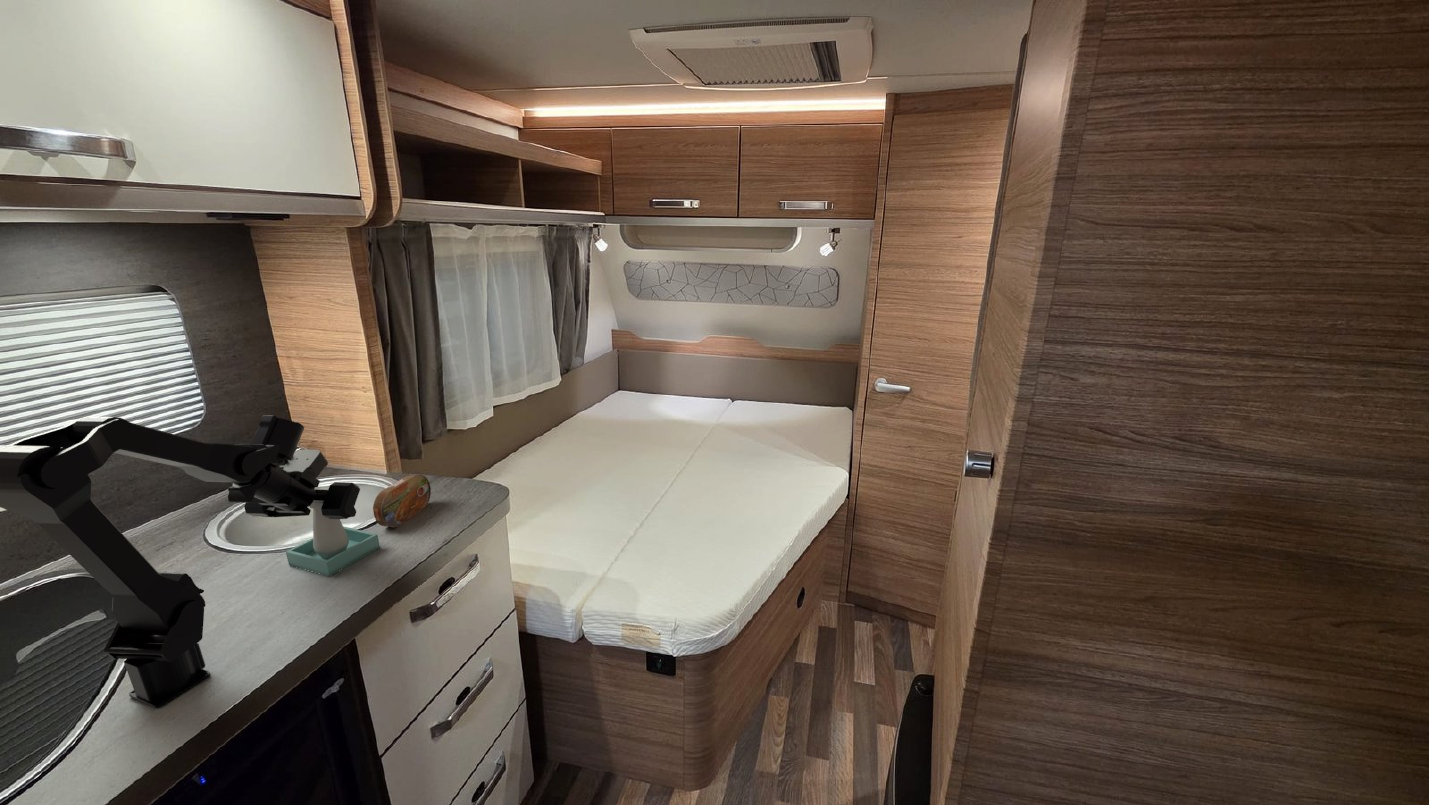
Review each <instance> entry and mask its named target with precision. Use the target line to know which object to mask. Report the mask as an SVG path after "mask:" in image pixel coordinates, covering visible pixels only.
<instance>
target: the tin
mask: <svg viewBox="0 0 1429 805" xmlns="http://www.w3.org/2000/svg"><path fill="white" fill-rule="evenodd" d="M431 491H432V487H431V484H430V481H429V479H428V478H427V477H426V476H425V475H423V474H410V475H406V476H404V477H402V478H401V479H399V480H398V481H396V482H394V483H392V484H391V485H389V486H388V487H386V488H384V489H382V490H381V491H380V492H379V493H378V494H377V496H376V497H375V499H374V501H373V505H372V510H373V511H372V512H373V516H374V519H375V522H376V523H377V524H378V525H379V526H382V527H389V528H399V527H401V526H402V525H403V524H404V523H406V522H407V521H409V520H410V519H412V518H413V517H415V516H416V515H417V514H419V513H420V512H421V511H423V510H424V509H425V508H426V507H427V506H428V504H429V501H430V498H431V495H432V492H431Z"/></svg>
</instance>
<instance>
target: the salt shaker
mask: <svg viewBox="0 0 1429 805" xmlns="http://www.w3.org/2000/svg"><path fill="white" fill-rule="evenodd" d="M322 505H323V503H312V504H311V505H310V506H309V507H308V508H309V509H312V520H313V521H312V536H313V547H314V550H315V552H316V553H317V554H318V555H319V556H320V557H321V558H323V559H325V560H328V559H330V558H332V557H334V556H336V555H337V554H339V553H341V552H343V551H345V550H346V549H347V546H348V544H349V538H348V536H347V534H346V531H345V529H344V527H345V526H344V525H343V523H342V520H341V519H329V518H328V517H325V516H323V515H322V511H321V508H322ZM343 526H344V527H343Z"/></svg>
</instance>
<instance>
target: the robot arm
mask: <svg viewBox="0 0 1429 805" xmlns="http://www.w3.org/2000/svg"><path fill="white" fill-rule="evenodd" d="M304 430H305V427H304V425H303V424H301V423H300V422H296V421H293V420H290V419H287V418H281V417H278V416H277V415H275V414H272V415H271V414H263V415H262V417H261V419H260V421H259V424H258V428H257V430H256V432H255V434H254V436H253V439H252V441H251V443H237V444H235V443H234V444H233V443H230V444H229V443H215V442H214V443H213V442H205V441H204V442H203V441H201V440H198V439H194V438H193V439H192V438H188V437H186V436H183V435H177V434H174V433H171V432H167V431H164V430H159V429H155V428H151V427H148V426H145V425H141V424H138V423H133V422H130V421H129V420H126V419H125V418H123V417H117V416H85V417H84V416H83V417H81V418H80V419H76V420H74V421H72V422H69V423H67V424H65V425H63V426H61V427H57V428H55V429H52V430H48V431H47V430H46V431H45V432H41V433H38V434H35V435H32V436H27V437H25V438H22V439H19V440H17V441H15V442H13V443H10V444H8V445H5V444H0V508H1V509H4V510H7V511H8V512H11V513H14V514H16V515H19V516H21V517H24V518H26V519H29V520H31V521H33V522H35V523H36V524H38V526H40V528H41V529H42V530H43V531H44V532H46V533H47V535H49V537H51V538H52V539H53V540H54V541H55V542H56V543H57V544H58V545H59V546H60V547H62V549H63V550H64V551H65V552H66V553H67V554H68V555H70V557H72V558H73V559H74V560H75V561H76V562H77V564H79V565H80V566H81V567H82V568H83V569H84V570H85V571H86V572H87V573H88V574H89V575H90V576H91V577H92V578H93V579H94V580H95V581H96V582H97V583H98V584H99V585H101V587H102V588H104V589H105V590H106V591H107V592H108V593H109V594H110V595H111V597H112V604H111V606H112V608H111V613H112V615H113V617H114V618H115V620H116V621H117V624H116V625H115V627H114V629H113V631H112V633H111V635H110V638H109V639H108V641H107V643H106V645H105V647H104V649H103V652H104V653H105V655H107V656H108V657H109V658H111V659H112V660H118V659H119V660H124V661H123V664H124V667H125V668H126V672H127V675H128V678H129V681H130V683H131V685H132V688H133V689H132V690H131V691H129V693H128V696H129V697H130V698H132V699H134V700H137V701H139V702H141V703H144V704H145V705H148V706H150V707H152V708H154V709H157V708H161V707H163V706H165V705H166V704H168V703H169V702H171V701H172V700H174V699H176V698H177V697H179V696H181V695H182V694H184V693H186V692H187V691H188V690H190V689H191V688H193V687H195V686H196V685H198V684H200V683H201V682H203V681H205V680H206V679H208V678H210V677H211V672H210V671H209V670H207V669H205V667H206V662H205V659H204V657H203V656H204V655H203V653H202V650H201V645H200V644H199V642H200V641H202V640H203V633H204V620H205V618H204V617H205V607H206V601H205V599H204V597H203V595H201V594H203V593H204V592H205V589H202V588H199V586H197V585H196V584H195V582H194V580H193V578H192V577H191V575H189V574H188V573H181V572H161V571H158V570H156V568H155V567H154V566H153V565H152V564H151V563H150V561H148V560H147V559H146V558H145V556H144V555H142V553H141V552H140V551H139V550H138V549H137V548H136V546H135V545H134V544H133V543H131V541H130V540H129V539H128V538H127V537H126V536H125V535H124V534H123V533H122V532H121V530H120V529H119V528H118V527H117V526H116V525H115V524H114V523H113V522H112V521H111V520H110V518H109V517H108V516H107V515H106V514H105V513H104V512H103V511H102V510H101V508H99V507H98V505H96V503H95V502H94V501H93V500H92V498H91V497H92V496H91V495H92V478H91V476H90V474H91V473H93V472H95V471H96V470H98V469H100V468H101V467H103V466H104V465H105V464H106V463H107V461H108V460H109V458H111V457H112V455H113V454H117V455H123V456H126V457H130V458H136V459H140V460H145V461H149V462H153V463H158V464H159V463H160V464H163V465H168V466H173V467H176V468H178V469H181V470H183V471H184V472H185V474H186V475H189V476H191V477H193V478H196V479H198V480H200V481H202V482H207V483H208V482H210V483H232V486H229V487H228V488H227V491H228V494H227V500H228V502H229V503H236V504H237V503H240V504H241V503H242V504H243V503H244V511H245V514H247V515H249V516H252V517H261V518H262V517H264V518H284V517H285V518H286V517H304V516H310V514H311V512H312V510H311V508H310V507H309V506H310V505H311V504H312V503H323V505H322V508H321V511H322V515H323V516H325V517H328V518H329V519H340V520H347V519H349V518H353V517H354V518H355V517H356V515H357V510H356V508H355V506H356V503H357V499H358V497H359V494H360V492H361V488H360V486H359V485H358V484H355V483H354V482H345V481H343V482H341V481H335V482H333V483H331V484H329V487H328V489H316V488H318V487H319V485H320V483H321V480H319V479H318V477H319V476H320V474H321V473H322V471H323V470H324V469H325V468H326V467H327V466H328V465H329V461H328V460H327V458H326V457H325V456H324V454H323V453H322V452H321V450H320V449H307V448H306V449H304V448H303V449H298V450H297V447H298V445H299V443H300V440H301V438H302V435H303V433H304Z"/></svg>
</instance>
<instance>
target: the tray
mask: <svg viewBox="0 0 1429 805" xmlns="http://www.w3.org/2000/svg"><path fill="white" fill-rule="evenodd" d="M343 527H344V529H345V531H346V534H347V536H348V538H349V544H348V546H347V549H346V550H345V551H343V552H341V553H339V554H337V555H336V556H334V557H332V558H330V559H328V560H325V559H323V558H321V557H320V556H319V555H318V554H317V553H316V552H315V550H314V547H313V538H310V539H309V540H306V541H305V542H303V543H300V544H298V545H296V546H294V547H292V548H290V549H288V550H286V551H285V556H286V559H287V562H288V566H289V565H290V566H289V567H292V566H293V568H296V567H297V568H296V569H299V568H301V569H300V570H303V569H306V570H305V571H307V570H309V571H308V572H310V571H313V572H312V573H314V572H316V573H315V574H317V573H320V574H319V575H321V574H323V575H322V576H325V575H326V577H328V576H330V577H332V576H333V574H334V575H335V574H337V573H339V572H340V571H339V570H341V569H342V570H344V569H346V568H348V567H349V566H351V565H353V564H355V563H356V562H358V561H360V560H361V559H363V558H365V557H367V556H368V555H370V554H371V553H373V552H375V551H377V550H378V549H381V545H380V541H379V535H378V533H373V532H370V531H365V530H361V529H356V528H352V527H347V526H344V525H343ZM357 560H358V561H357ZM342 570H341V571H342ZM338 571H339V572H338ZM336 572H337V573H336ZM331 575H332V576H331Z"/></svg>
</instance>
